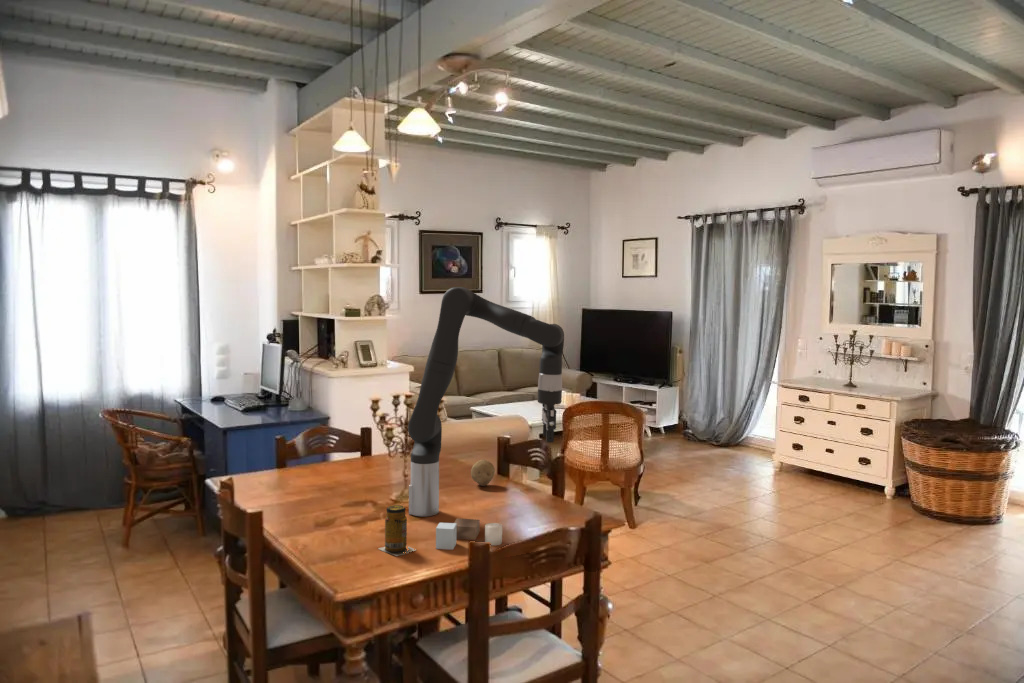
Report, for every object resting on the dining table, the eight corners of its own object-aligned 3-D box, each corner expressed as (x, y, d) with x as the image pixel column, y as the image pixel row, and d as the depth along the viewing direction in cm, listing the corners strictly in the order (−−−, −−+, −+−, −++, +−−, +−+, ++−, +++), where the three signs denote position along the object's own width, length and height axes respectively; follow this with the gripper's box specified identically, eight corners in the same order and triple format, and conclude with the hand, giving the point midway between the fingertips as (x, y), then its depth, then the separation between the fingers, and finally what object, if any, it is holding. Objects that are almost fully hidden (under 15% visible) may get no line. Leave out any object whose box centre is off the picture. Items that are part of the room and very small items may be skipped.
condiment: (398, 543, 214) (398, 502, 213) (416, 550, 208) (417, 508, 207) (377, 549, 208) (377, 507, 207) (396, 557, 203) (396, 514, 202)
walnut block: (451, 539, 218) (452, 525, 218) (456, 531, 225) (456, 518, 225) (475, 540, 217) (475, 527, 217) (479, 532, 224) (479, 519, 224)
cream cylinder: (483, 545, 213) (483, 528, 213) (486, 539, 218) (486, 522, 218) (500, 545, 212) (501, 529, 212) (503, 539, 217) (503, 523, 217)
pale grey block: (435, 548, 209) (435, 528, 209) (439, 542, 214) (439, 522, 214) (453, 549, 209) (453, 529, 208) (456, 543, 214) (456, 523, 213)
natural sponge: (491, 490, 269) (491, 463, 268) (467, 488, 270) (468, 462, 270) (496, 483, 278) (496, 457, 277) (473, 482, 279) (473, 456, 278)
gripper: (535, 384, 237) (533, 434, 239) (540, 391, 223) (539, 444, 224) (558, 384, 238) (556, 434, 239) (565, 391, 224) (563, 444, 225)
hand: (548, 439), depth 232 cm, fingers open, 8 cm apart
